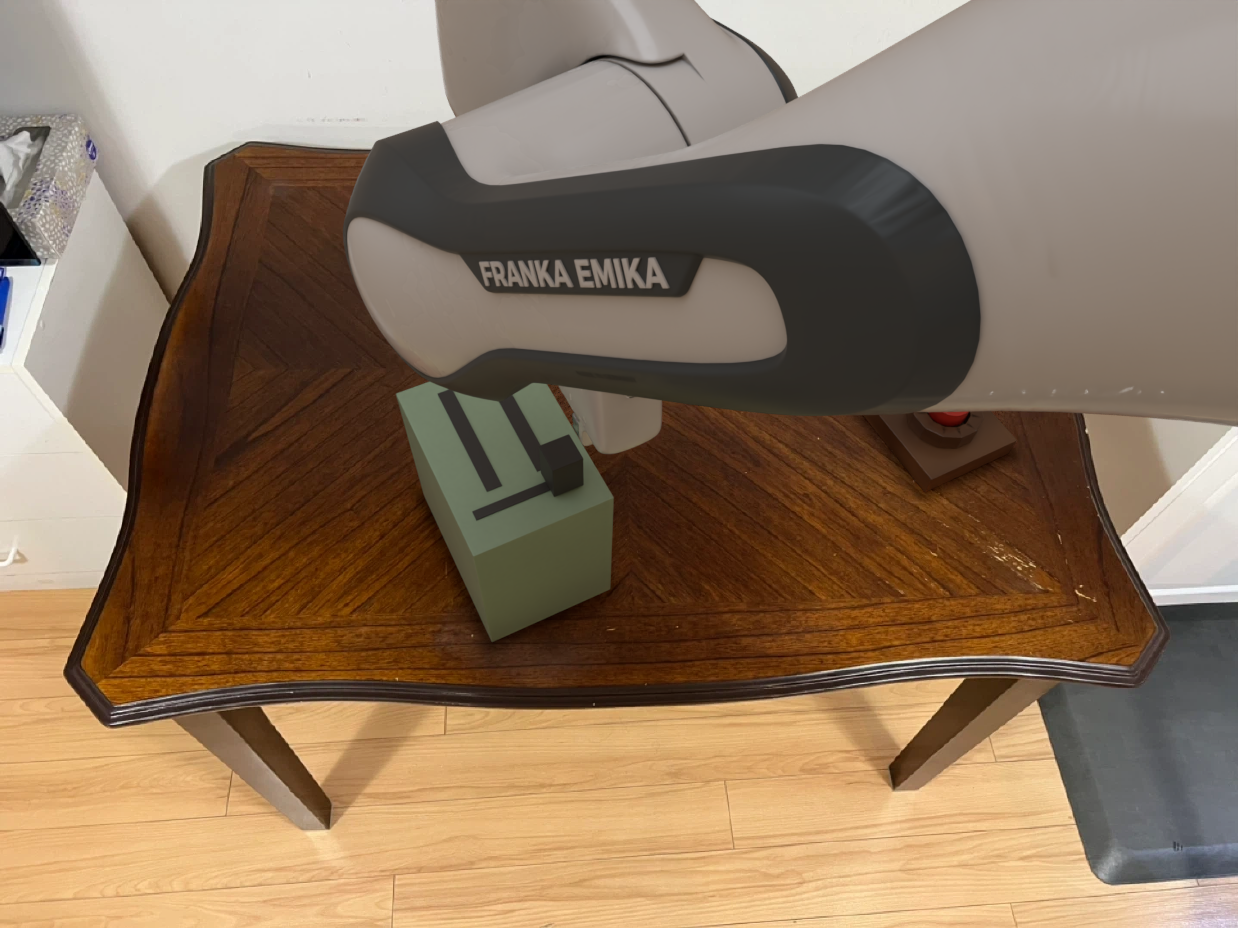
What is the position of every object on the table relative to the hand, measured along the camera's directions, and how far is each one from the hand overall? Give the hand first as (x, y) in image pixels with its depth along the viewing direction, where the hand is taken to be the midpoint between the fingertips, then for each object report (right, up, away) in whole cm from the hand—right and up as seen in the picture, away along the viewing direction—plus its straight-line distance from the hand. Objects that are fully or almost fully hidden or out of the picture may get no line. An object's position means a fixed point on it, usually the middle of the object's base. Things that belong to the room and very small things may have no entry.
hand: (558, 380), depth 60 cm
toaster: (-5, -12, +24) cm, 27 cm away
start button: (+34, 0, +29) cm, 45 cm away
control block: (+34, -2, +32) cm, 47 cm away
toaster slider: (0, -6, +10) cm, 12 cm away
